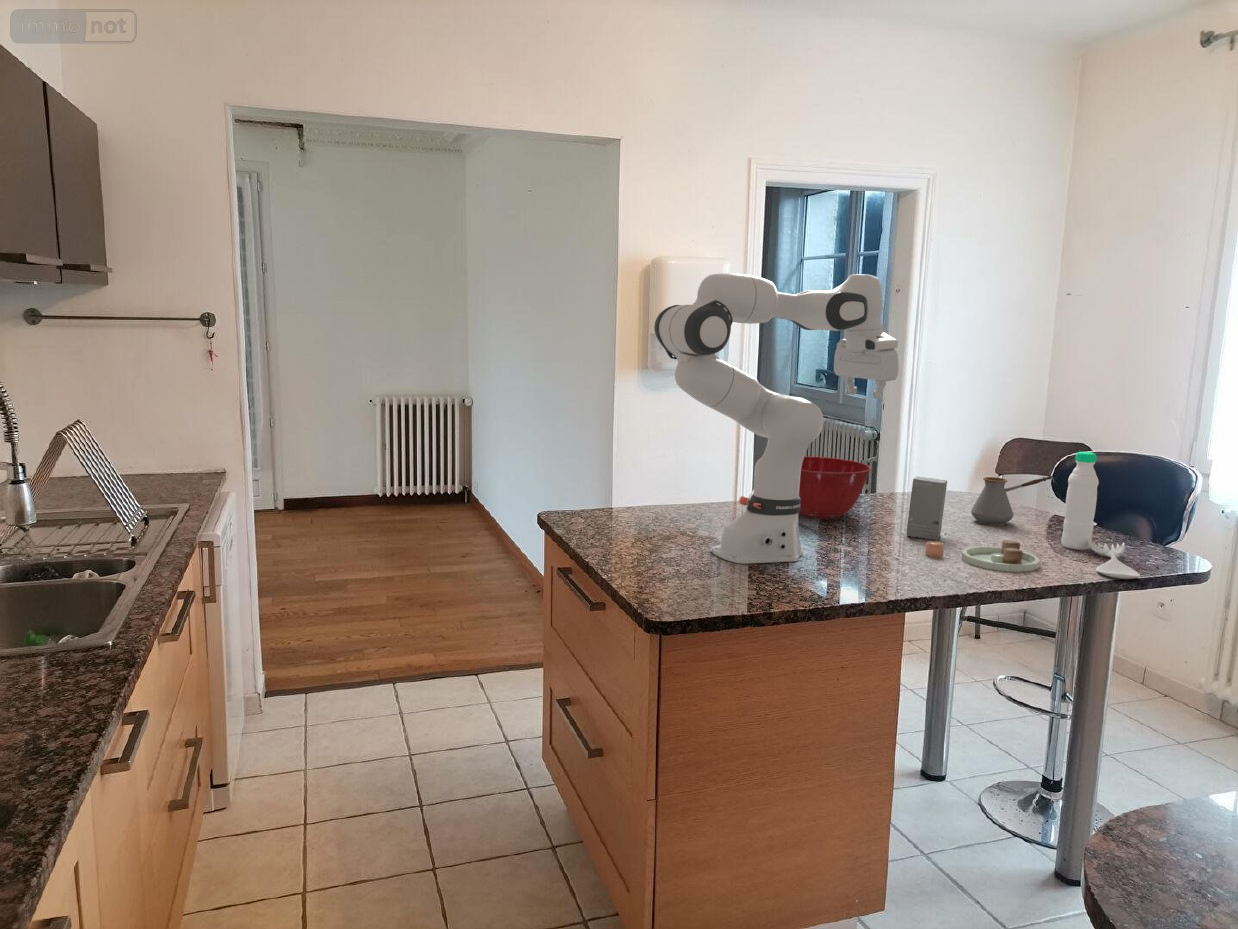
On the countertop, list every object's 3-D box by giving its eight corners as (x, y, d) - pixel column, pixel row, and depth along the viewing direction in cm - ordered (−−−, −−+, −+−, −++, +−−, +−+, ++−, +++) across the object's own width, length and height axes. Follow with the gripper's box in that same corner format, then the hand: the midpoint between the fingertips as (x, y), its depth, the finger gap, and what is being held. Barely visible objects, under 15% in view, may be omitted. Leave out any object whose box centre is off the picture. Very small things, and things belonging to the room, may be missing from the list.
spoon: (1124, 554, 230) (1125, 540, 230) (1143, 587, 201) (1144, 572, 200) (1084, 549, 234) (1086, 536, 233) (1097, 582, 204) (1099, 567, 204)
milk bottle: (1087, 545, 239) (1098, 451, 235) (1093, 551, 232) (1104, 455, 228) (1058, 542, 241) (1068, 449, 236) (1063, 549, 234) (1074, 453, 230)
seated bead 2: (1012, 570, 209) (1014, 553, 209) (998, 565, 213) (1000, 549, 212) (1024, 568, 211) (1026, 551, 210) (1010, 563, 215) (1012, 547, 214)
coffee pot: (970, 524, 260) (975, 473, 257) (969, 516, 270) (973, 467, 268) (1052, 532, 253) (1058, 479, 250) (1047, 523, 264) (1052, 472, 261)
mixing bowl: (861, 507, 280) (864, 457, 278) (873, 528, 252) (877, 473, 250) (768, 502, 284) (771, 453, 281) (770, 522, 256) (773, 468, 254)
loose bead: (933, 562, 218) (934, 546, 218) (921, 558, 222) (922, 542, 221) (946, 560, 220) (947, 544, 219) (934, 556, 224) (935, 540, 223)
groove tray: (1001, 578, 206) (1002, 568, 205) (946, 559, 221) (946, 549, 220) (1054, 571, 213) (1055, 561, 212) (997, 553, 228) (997, 543, 227)
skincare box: (905, 536, 243) (910, 478, 240) (910, 531, 249) (915, 475, 247) (938, 541, 239) (943, 482, 237) (942, 535, 245) (947, 478, 243)
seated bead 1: (1010, 561, 217) (1011, 545, 216) (997, 557, 220) (998, 541, 220) (1022, 559, 219) (1023, 543, 218) (1008, 555, 222) (1010, 539, 221)
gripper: (827, 339, 232) (828, 393, 235) (882, 343, 214) (882, 401, 217) (846, 337, 234) (847, 390, 238) (903, 341, 216) (903, 398, 219)
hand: (864, 395), depth 227 cm, fingers open, 8 cm apart
